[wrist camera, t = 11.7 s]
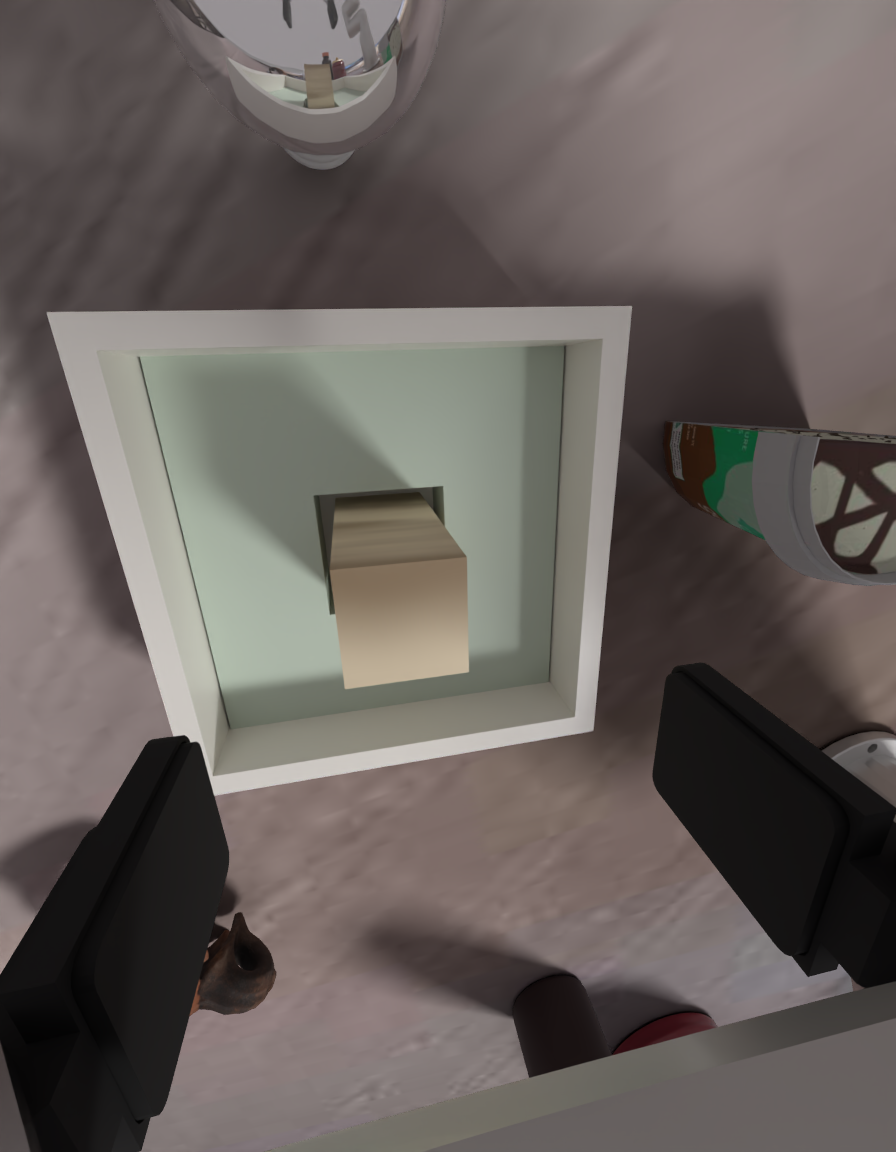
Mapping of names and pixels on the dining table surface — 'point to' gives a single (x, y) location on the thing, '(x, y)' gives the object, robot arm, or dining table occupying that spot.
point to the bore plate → (347, 465)
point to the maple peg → (397, 591)
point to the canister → (667, 1030)
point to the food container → (795, 493)
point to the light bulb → (309, 66)
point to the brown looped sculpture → (234, 972)
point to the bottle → (557, 1026)
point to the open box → (162, 567)
